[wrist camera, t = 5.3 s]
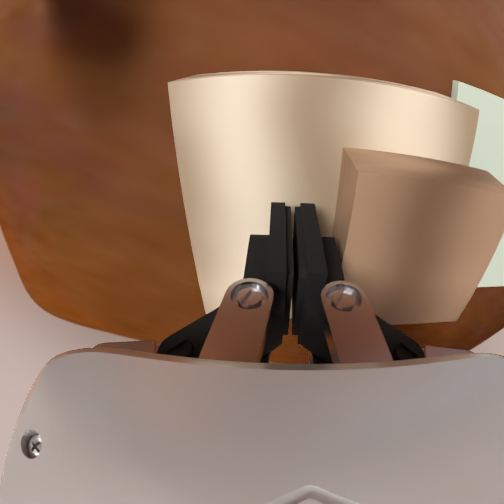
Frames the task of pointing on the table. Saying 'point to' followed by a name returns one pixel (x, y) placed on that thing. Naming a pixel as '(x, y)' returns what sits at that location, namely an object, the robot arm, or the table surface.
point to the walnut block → (415, 232)
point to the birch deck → (290, 150)
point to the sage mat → (487, 156)
